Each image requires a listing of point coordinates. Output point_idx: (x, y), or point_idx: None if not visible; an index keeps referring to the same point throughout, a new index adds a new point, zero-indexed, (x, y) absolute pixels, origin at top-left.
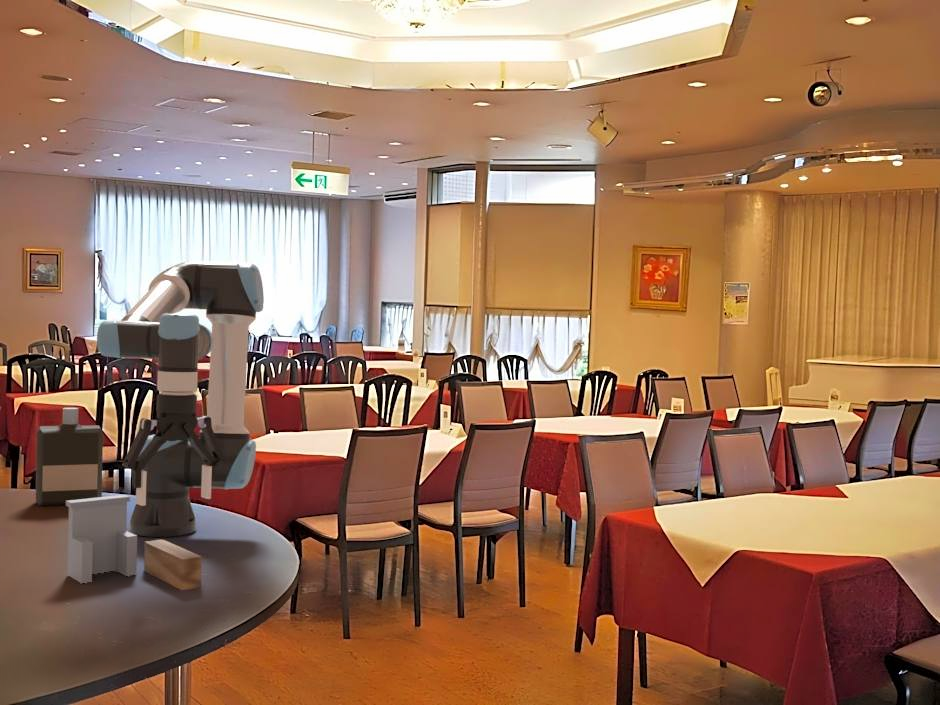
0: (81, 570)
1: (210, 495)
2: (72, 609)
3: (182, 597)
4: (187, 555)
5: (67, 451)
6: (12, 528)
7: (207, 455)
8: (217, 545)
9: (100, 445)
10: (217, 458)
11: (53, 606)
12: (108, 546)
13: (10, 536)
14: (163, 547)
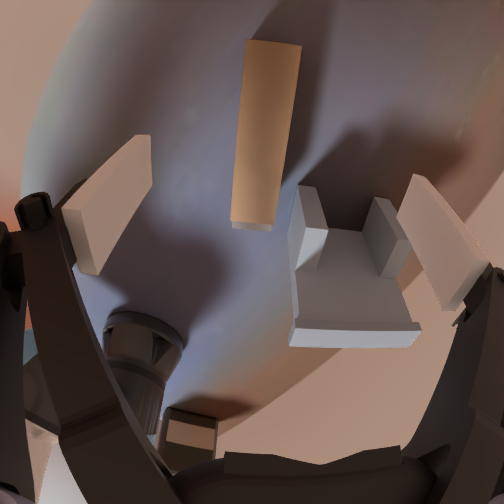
0: (396, 212)
1: (132, 140)
2: (472, 105)
3: (320, 11)
4: (269, 69)
5: (191, 457)
6: (275, 395)
7: (49, 265)
8: None
9: (160, 455)
10: (10, 249)
11: (476, 137)
12: (327, 255)
13: (294, 383)
14: (269, 167)
